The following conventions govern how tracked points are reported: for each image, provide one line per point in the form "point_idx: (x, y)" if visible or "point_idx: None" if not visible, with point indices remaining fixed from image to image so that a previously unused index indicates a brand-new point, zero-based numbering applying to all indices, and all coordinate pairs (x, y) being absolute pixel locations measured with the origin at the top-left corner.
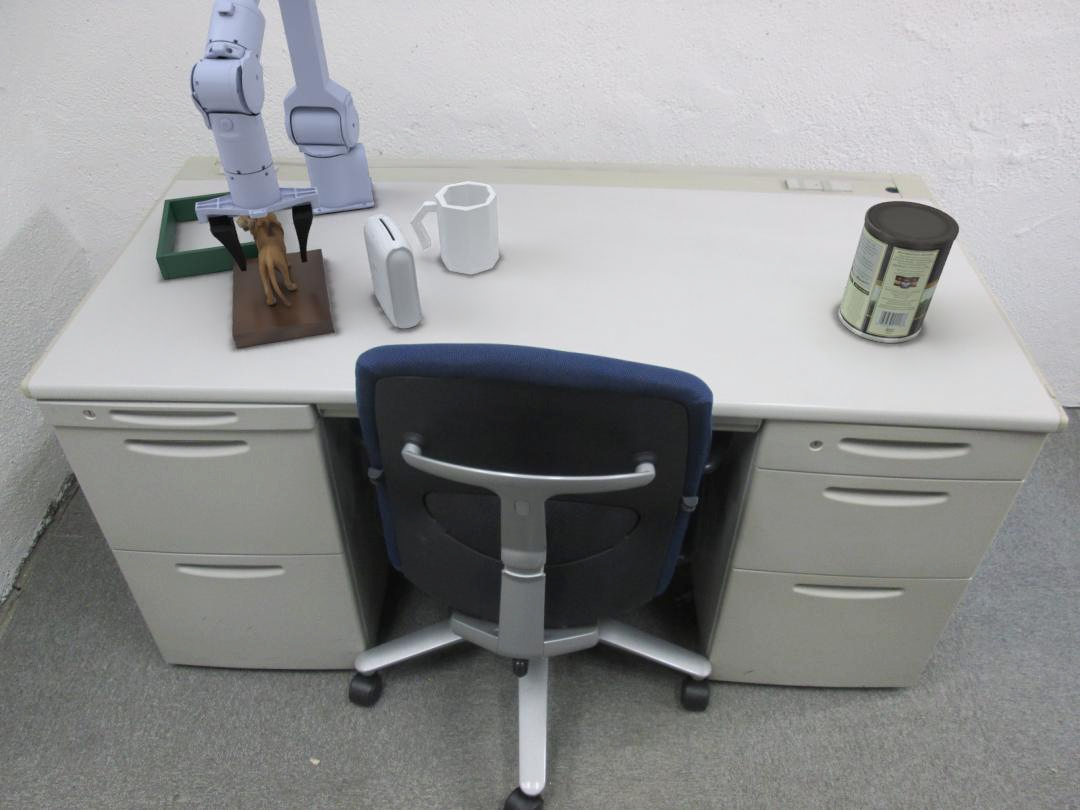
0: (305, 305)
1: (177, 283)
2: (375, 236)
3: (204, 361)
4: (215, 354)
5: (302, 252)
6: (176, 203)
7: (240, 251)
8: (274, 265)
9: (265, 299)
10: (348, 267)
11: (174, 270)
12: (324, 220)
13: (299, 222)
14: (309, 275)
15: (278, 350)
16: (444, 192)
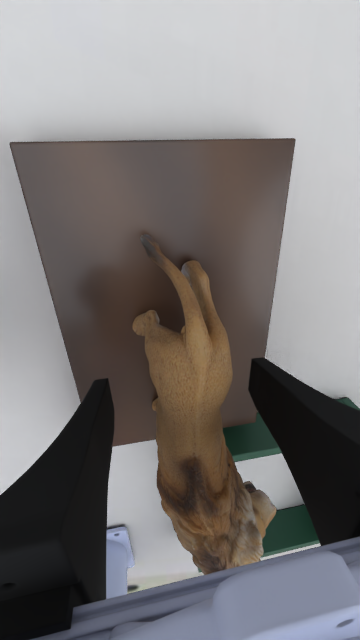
0: (105, 244)
1: (332, 387)
2: None
3: (347, 107)
4: (320, 132)
5: (94, 399)
6: (314, 535)
7: (277, 404)
8: (180, 334)
9: None
10: (42, 406)
11: None
12: (108, 515)
13: (27, 521)
14: (108, 368)
15: (177, 98)
16: None
